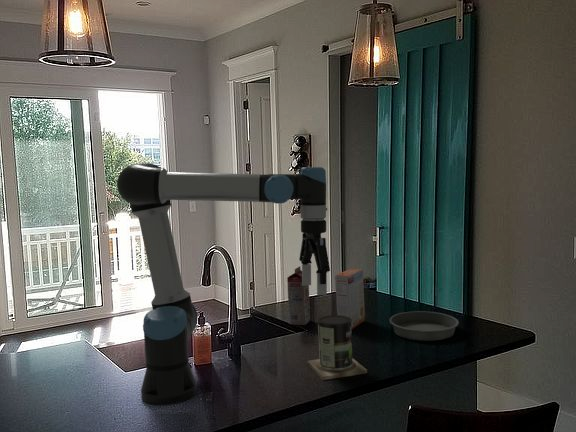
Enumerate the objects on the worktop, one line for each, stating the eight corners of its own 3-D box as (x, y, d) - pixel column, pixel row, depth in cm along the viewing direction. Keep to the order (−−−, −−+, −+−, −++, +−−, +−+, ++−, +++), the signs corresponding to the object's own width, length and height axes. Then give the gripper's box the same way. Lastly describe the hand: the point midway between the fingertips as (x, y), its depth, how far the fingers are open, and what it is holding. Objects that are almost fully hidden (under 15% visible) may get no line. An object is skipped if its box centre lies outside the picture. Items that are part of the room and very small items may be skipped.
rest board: (322, 380, 158) (322, 376, 158) (307, 363, 172) (307, 360, 172) (367, 373, 162) (367, 369, 162) (348, 357, 176) (348, 354, 176)
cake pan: (389, 342, 190) (389, 329, 190) (389, 321, 214) (389, 310, 214) (463, 343, 186) (463, 330, 186) (454, 322, 210) (454, 311, 210)
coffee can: (354, 359, 171) (352, 315, 170) (351, 371, 161) (349, 324, 160) (321, 358, 173) (319, 314, 172) (316, 370, 163) (314, 324, 162)
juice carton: (289, 324, 216) (286, 269, 214) (294, 319, 222) (292, 265, 220) (305, 325, 214) (303, 269, 212) (310, 320, 220) (308, 266, 218)
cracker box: (351, 319, 219) (349, 267, 217) (365, 321, 216) (364, 268, 214) (336, 329, 207) (334, 274, 205) (350, 331, 204) (349, 275, 202)
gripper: (341, 222, 151) (341, 298, 153) (311, 215, 175) (312, 280, 177) (315, 223, 149) (316, 300, 151) (289, 216, 173) (289, 282, 175)
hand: (313, 289), depth 164 cm, fingers open, 13 cm apart
